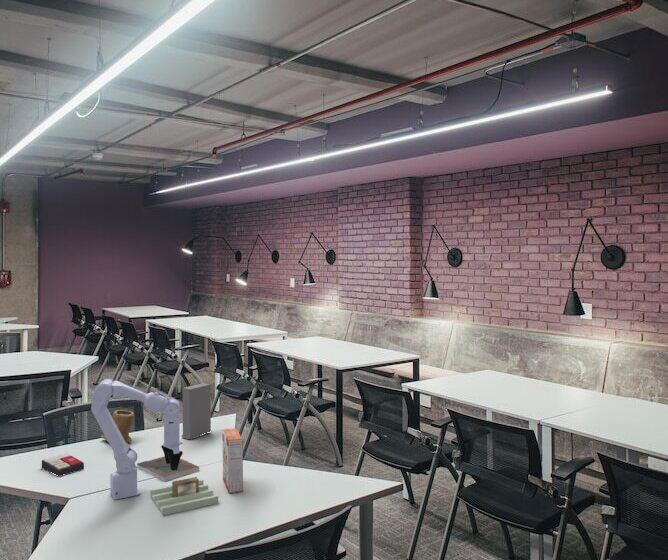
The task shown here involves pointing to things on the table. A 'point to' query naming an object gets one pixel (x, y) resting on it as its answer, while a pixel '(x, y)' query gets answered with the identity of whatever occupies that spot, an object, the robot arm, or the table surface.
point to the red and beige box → (62, 464)
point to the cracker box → (232, 460)
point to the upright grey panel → (196, 410)
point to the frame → (185, 487)
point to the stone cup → (123, 423)
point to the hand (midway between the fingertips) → (171, 466)
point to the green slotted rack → (182, 499)
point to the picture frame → (166, 468)
